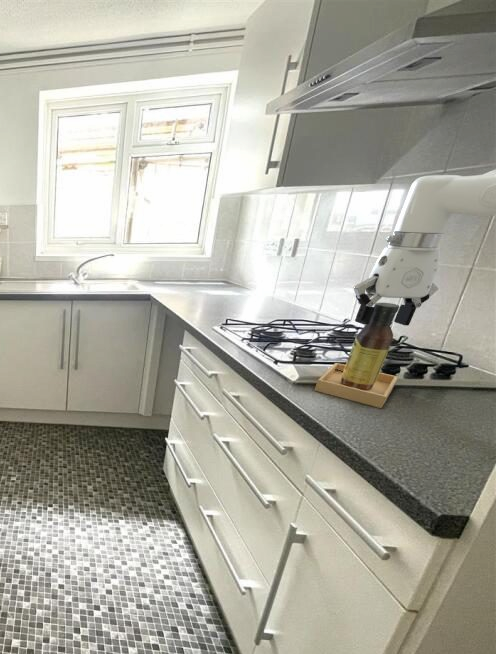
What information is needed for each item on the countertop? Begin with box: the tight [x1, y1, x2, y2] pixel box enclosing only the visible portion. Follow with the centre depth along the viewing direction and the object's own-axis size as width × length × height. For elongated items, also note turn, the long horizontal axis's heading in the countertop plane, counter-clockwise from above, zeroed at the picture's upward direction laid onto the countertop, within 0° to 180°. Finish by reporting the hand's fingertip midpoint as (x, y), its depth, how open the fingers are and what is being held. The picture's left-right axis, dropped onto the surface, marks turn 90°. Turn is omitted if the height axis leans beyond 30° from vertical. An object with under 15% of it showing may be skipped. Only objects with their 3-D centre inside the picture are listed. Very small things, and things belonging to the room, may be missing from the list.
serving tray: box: [314, 362, 399, 409], centre depth 99 cm, size 17×12×3 cm
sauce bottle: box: [341, 302, 400, 390], centre depth 96 cm, size 7×6×20 cm
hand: (381, 323), depth 93 cm, fingers open, 8 cm apart
